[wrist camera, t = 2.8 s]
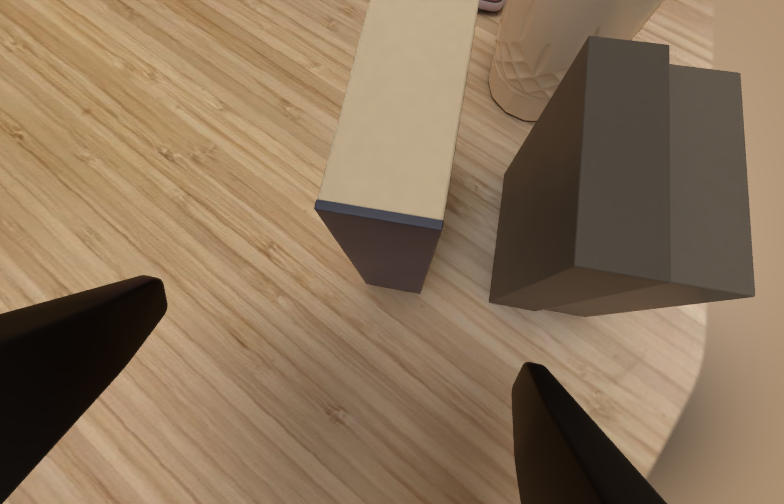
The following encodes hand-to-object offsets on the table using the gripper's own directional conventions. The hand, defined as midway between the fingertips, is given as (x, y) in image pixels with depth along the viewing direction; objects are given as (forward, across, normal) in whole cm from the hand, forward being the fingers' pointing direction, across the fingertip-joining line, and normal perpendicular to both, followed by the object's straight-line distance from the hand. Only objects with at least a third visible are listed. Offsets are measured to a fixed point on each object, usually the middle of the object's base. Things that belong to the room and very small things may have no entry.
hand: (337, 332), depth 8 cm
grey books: (+15, -10, +3) cm, 18 cm away
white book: (+15, -1, +3) cm, 15 cm away
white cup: (+23, -8, -6) cm, 25 cm away
